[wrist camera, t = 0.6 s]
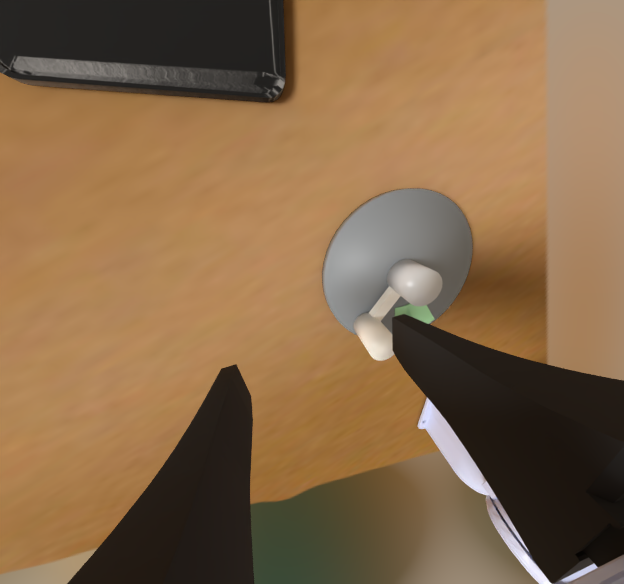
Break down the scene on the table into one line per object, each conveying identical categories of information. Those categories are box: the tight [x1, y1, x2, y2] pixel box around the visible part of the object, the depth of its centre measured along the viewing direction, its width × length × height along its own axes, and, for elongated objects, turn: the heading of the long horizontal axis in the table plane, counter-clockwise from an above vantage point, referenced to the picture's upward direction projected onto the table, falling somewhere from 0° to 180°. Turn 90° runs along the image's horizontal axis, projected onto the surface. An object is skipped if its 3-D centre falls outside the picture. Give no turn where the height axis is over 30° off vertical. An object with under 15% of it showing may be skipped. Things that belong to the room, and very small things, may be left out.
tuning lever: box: [354, 259, 442, 361], centre depth 19 cm, size 8×3×4 cm, turn 147°
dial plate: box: [322, 189, 473, 335], centre depth 21 cm, size 14×14×1 cm
